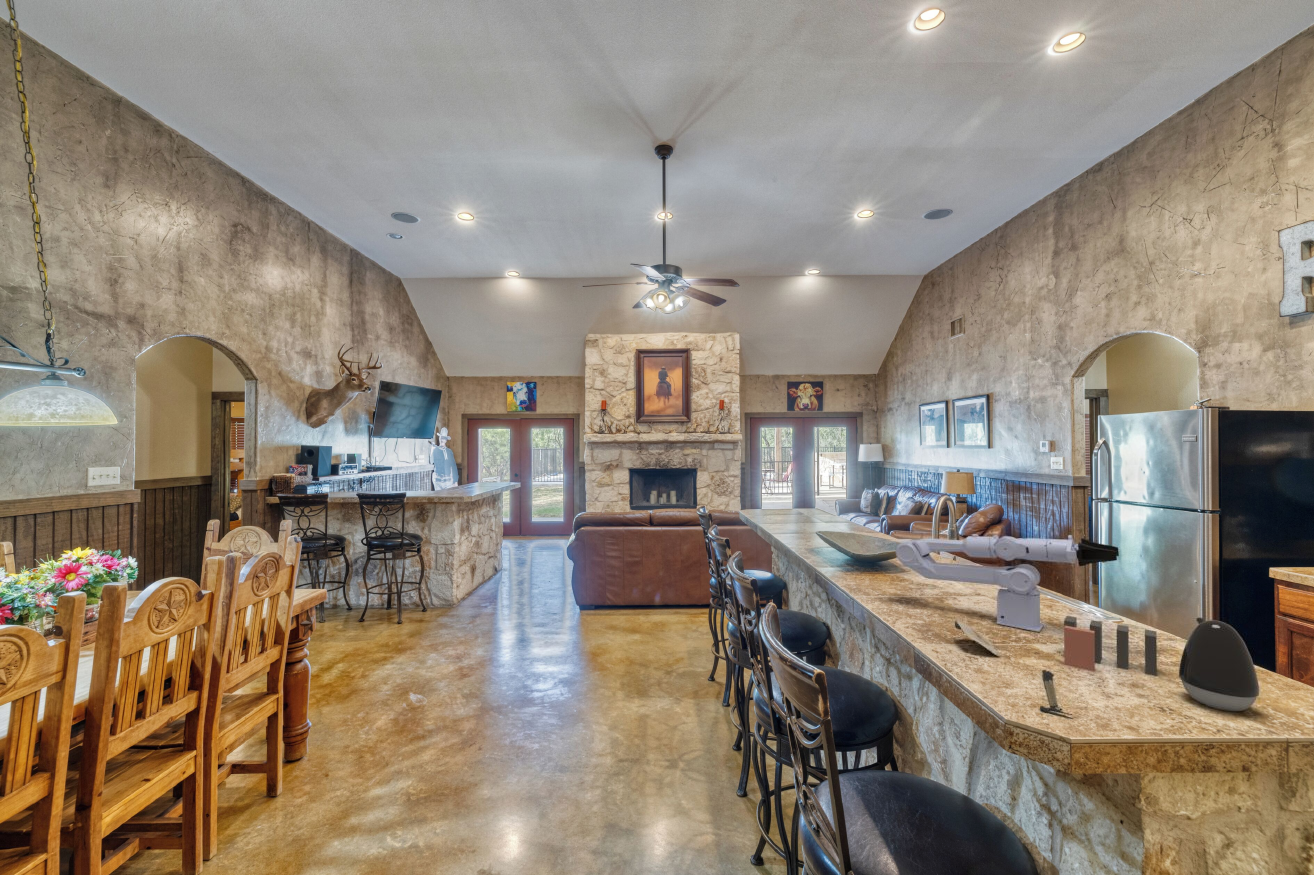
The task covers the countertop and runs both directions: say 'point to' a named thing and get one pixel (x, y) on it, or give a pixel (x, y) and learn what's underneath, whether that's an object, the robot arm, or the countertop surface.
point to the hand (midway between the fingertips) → (1117, 553)
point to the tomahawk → (1051, 696)
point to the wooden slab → (976, 637)
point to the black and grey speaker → (1218, 667)
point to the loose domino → (1079, 648)
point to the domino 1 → (1070, 621)
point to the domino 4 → (1150, 652)
